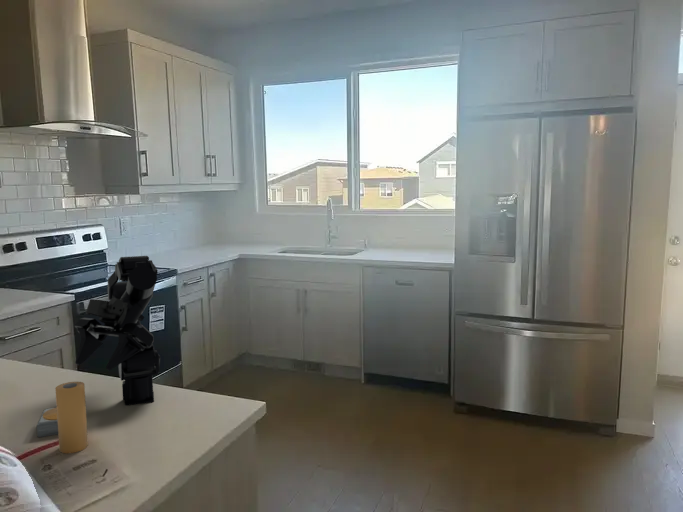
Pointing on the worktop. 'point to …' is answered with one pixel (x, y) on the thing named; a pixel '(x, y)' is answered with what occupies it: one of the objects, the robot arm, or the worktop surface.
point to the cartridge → (71, 417)
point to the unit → (48, 423)
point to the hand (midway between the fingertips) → (92, 366)
